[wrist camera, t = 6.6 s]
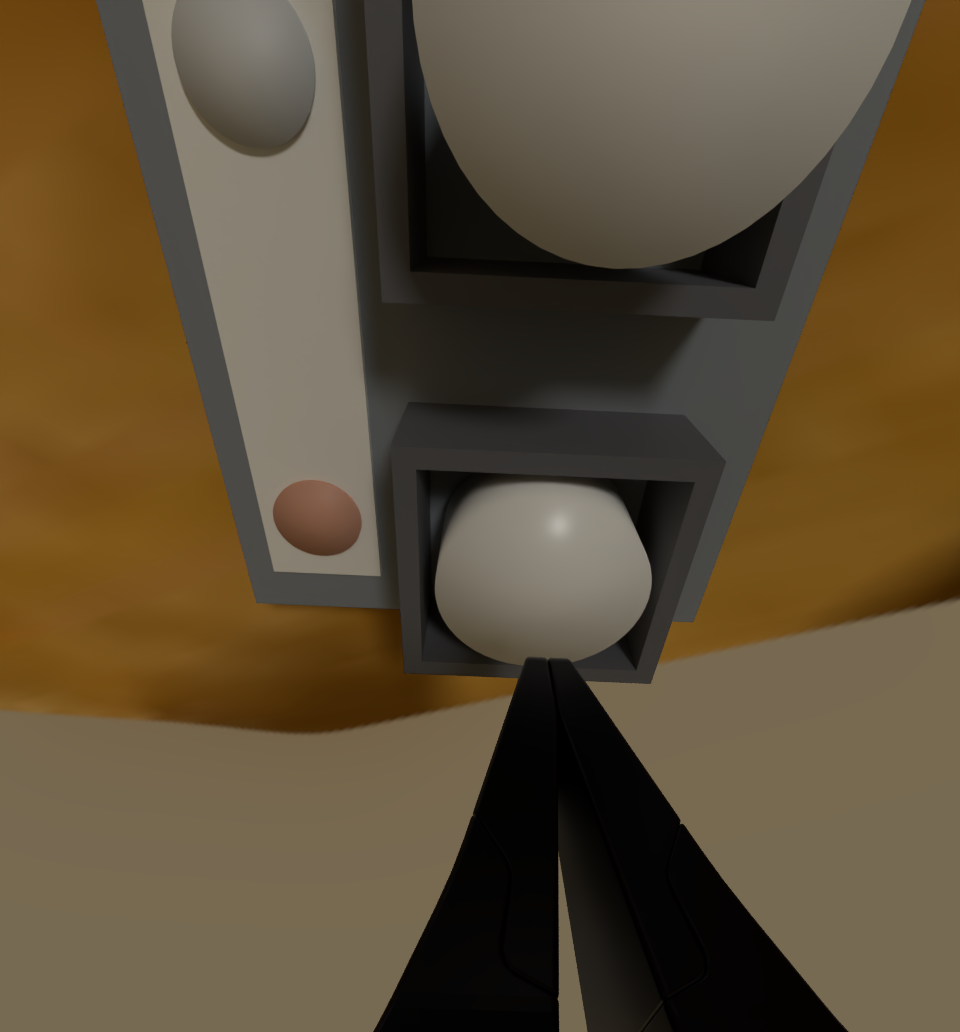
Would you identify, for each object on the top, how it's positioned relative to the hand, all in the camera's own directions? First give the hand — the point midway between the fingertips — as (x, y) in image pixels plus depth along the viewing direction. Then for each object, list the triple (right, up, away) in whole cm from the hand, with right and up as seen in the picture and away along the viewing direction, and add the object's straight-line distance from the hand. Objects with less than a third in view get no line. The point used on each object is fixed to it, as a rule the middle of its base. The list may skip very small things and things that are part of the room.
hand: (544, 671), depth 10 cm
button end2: (0, +3, +4) cm, 5 cm away
